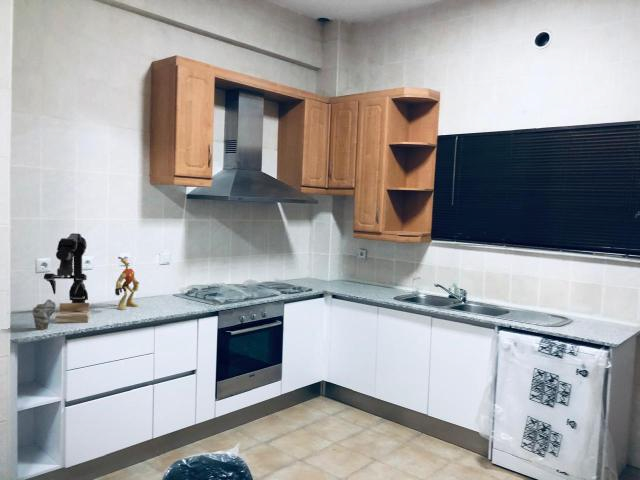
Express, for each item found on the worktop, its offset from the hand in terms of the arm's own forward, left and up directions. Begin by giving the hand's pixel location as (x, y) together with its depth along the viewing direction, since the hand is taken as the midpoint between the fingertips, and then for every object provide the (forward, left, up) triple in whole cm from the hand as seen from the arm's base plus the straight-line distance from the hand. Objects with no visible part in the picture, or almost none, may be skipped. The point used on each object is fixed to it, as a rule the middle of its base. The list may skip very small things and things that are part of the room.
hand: (64, 294), depth 266 cm
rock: (+11, -1, -16) cm, 19 cm away
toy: (-46, -7, -16) cm, 50 cm away
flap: (-12, -8, -9) cm, 17 cm away
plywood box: (-8, -4, -15) cm, 18 cm away
